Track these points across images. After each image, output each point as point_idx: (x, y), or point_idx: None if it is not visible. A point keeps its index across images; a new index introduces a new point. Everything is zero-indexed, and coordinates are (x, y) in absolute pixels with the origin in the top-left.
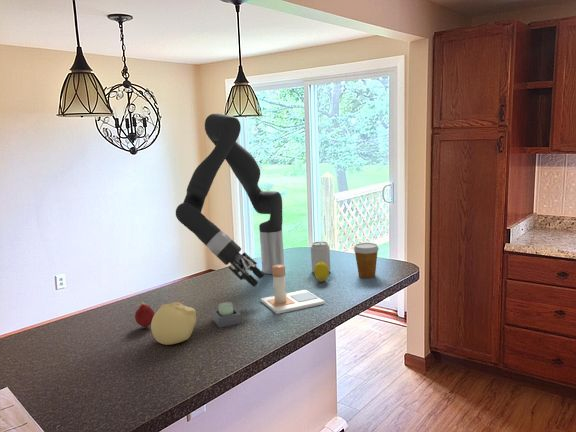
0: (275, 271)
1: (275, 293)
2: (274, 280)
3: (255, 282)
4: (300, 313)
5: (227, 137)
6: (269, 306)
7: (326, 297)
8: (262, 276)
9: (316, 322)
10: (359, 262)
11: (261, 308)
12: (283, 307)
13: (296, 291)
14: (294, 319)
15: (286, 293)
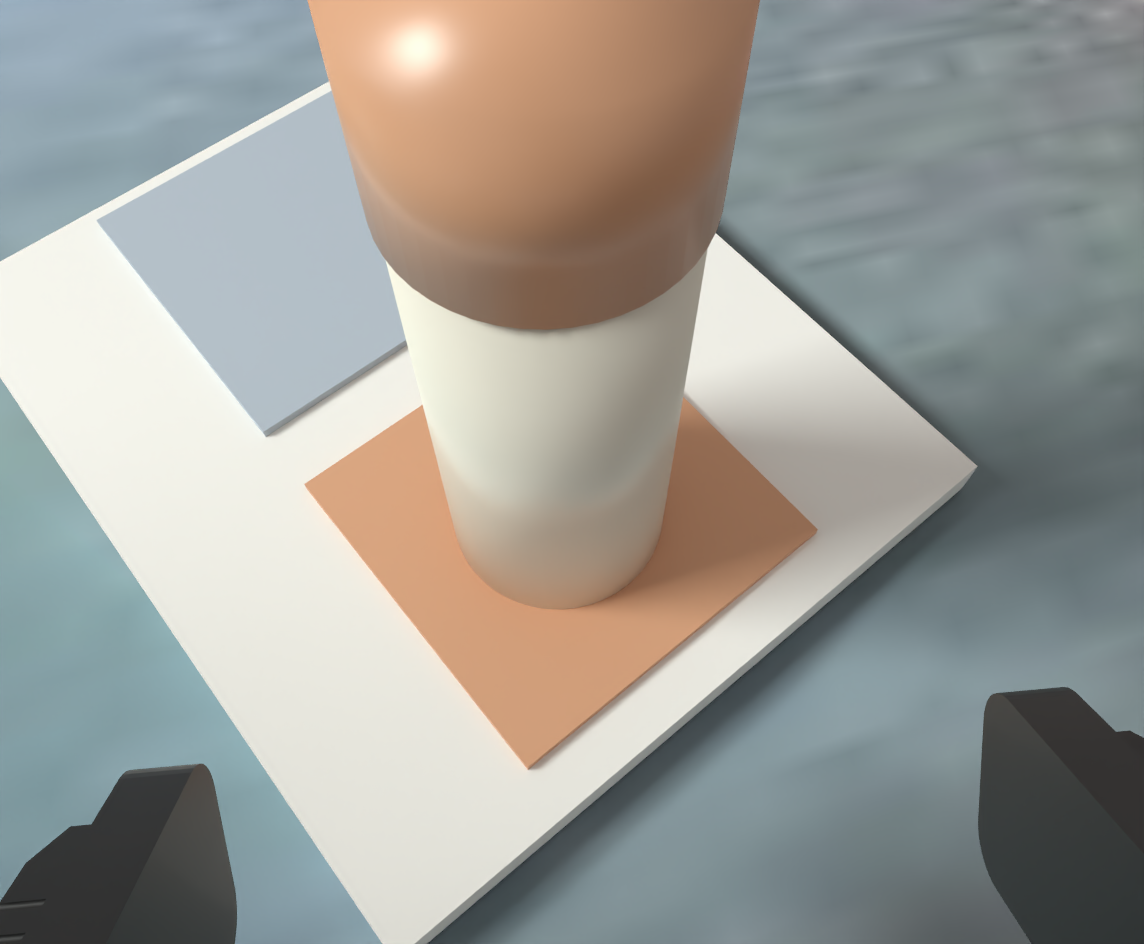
0: (741, 86)
1: (661, 482)
2: (676, 328)
3: (1133, 737)
4: (842, 213)
5: None
6: (754, 659)
7: (224, 56)
8: (215, 821)
9: (1058, 20)
10: None
11: (776, 819)
12: (797, 409)
13: (23, 400)
14: (1060, 233)
15: (113, 533)
